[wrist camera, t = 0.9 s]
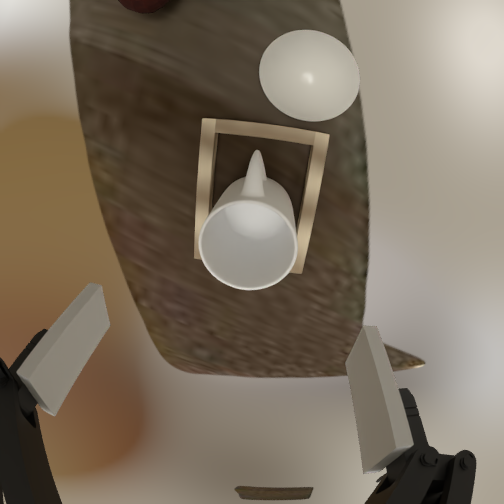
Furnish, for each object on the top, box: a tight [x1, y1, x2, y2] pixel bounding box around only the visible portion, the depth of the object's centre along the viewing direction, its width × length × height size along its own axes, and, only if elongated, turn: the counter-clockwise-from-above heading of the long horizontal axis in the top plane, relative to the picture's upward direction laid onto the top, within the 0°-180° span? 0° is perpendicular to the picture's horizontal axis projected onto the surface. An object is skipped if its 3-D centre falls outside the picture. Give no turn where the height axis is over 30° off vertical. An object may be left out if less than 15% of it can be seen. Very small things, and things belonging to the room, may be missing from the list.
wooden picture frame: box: [194, 118, 330, 274], centre depth 32 cm, size 17×14×2 cm
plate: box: [259, 30, 360, 121], centre depth 26 cm, size 11×11×1 cm
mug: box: [198, 150, 298, 290], centre depth 28 cm, size 9×12×11 cm
